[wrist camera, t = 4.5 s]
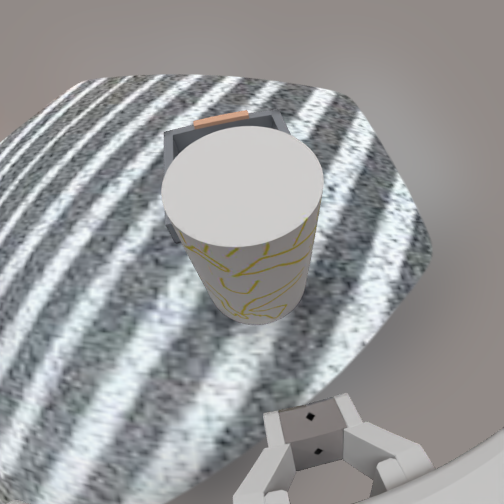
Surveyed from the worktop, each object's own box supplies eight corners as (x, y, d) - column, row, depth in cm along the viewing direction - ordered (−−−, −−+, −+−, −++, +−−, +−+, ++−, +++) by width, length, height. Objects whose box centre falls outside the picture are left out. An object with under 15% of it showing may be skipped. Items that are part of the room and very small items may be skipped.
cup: (209, 329, 23) (154, 257, 13) (206, 241, 27) (169, 137, 17) (313, 318, 23) (341, 235, 13) (297, 230, 27) (304, 120, 17)
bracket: (314, 213, 28) (317, 189, 25) (175, 243, 28) (163, 221, 25) (278, 128, 34) (278, 105, 31) (170, 151, 34) (162, 128, 31)
